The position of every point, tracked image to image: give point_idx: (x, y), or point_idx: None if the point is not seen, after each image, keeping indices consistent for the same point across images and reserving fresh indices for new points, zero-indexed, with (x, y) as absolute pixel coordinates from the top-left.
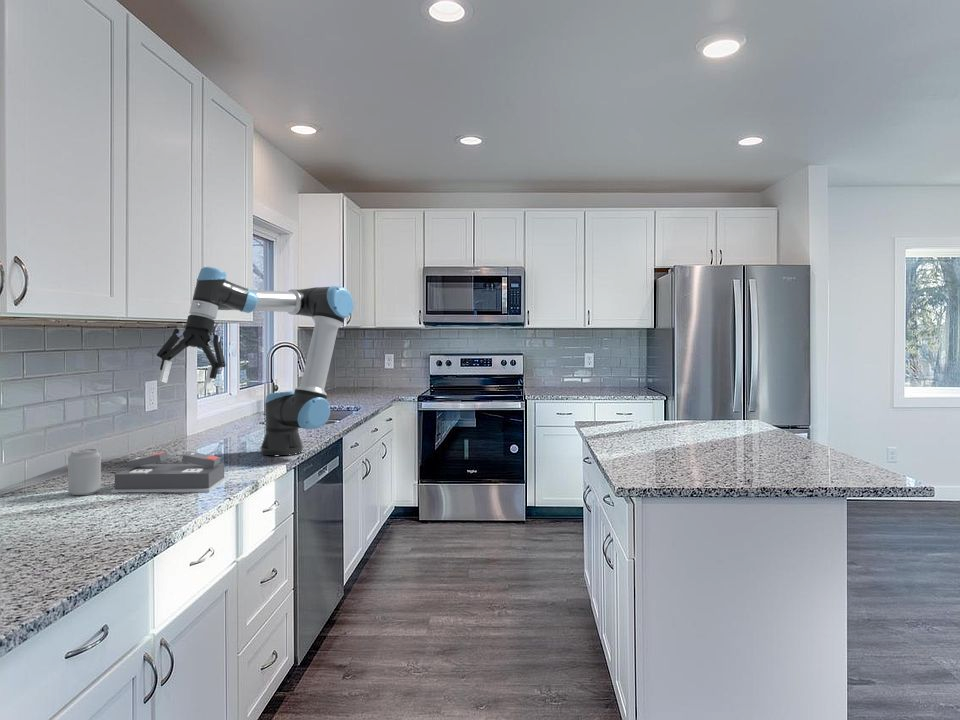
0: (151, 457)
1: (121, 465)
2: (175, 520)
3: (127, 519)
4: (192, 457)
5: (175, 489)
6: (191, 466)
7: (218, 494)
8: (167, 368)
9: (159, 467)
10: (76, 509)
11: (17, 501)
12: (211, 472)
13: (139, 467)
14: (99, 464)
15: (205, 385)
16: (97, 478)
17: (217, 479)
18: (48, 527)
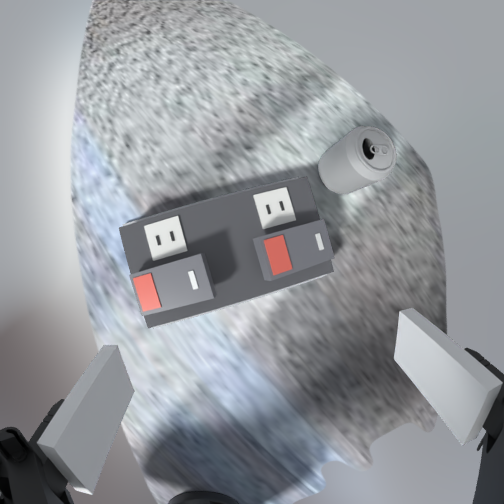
0: (276, 232)
1: None
2: (96, 85)
3: (161, 71)
4: (178, 260)
5: (184, 206)
6: None
7: (100, 215)
8: (444, 381)
9: None
10: (271, 93)
11: (381, 123)
12: (123, 244)
13: None
14: (339, 163)
15: (102, 355)
16: (326, 164)
17: None
18: (239, 36)
